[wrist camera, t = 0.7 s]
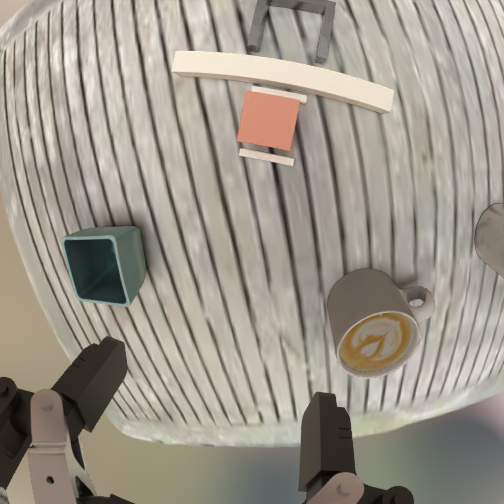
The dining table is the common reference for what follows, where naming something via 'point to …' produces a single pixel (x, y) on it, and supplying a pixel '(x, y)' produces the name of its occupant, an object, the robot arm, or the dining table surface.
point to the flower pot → (105, 264)
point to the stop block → (268, 120)
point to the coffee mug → (375, 322)
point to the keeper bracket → (315, 3)
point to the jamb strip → (283, 83)
